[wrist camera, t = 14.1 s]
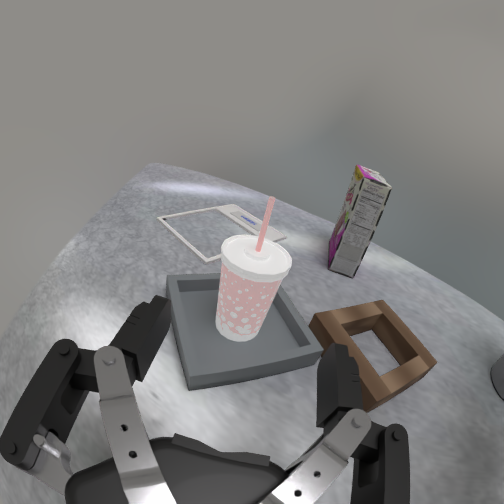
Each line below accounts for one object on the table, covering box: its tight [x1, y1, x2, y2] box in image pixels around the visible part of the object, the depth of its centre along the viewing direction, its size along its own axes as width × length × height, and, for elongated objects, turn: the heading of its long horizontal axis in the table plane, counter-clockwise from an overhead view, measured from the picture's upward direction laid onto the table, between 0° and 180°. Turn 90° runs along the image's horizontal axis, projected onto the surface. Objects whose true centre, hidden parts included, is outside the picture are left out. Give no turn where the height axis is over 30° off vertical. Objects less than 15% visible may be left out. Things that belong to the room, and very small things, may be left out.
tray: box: [166, 273, 324, 391], centre depth 27 cm, size 13×13×2 cm
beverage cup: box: [215, 196, 292, 342], centre depth 24 cm, size 6×6×14 cm
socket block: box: [308, 300, 437, 413], centre depth 27 cm, size 12×12×3 cm
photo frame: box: [157, 204, 287, 265], centre depth 47 cm, size 15×1×18 cm
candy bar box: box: [328, 165, 392, 278], centre depth 43 cm, size 11×5×16 cm, turn 164°
